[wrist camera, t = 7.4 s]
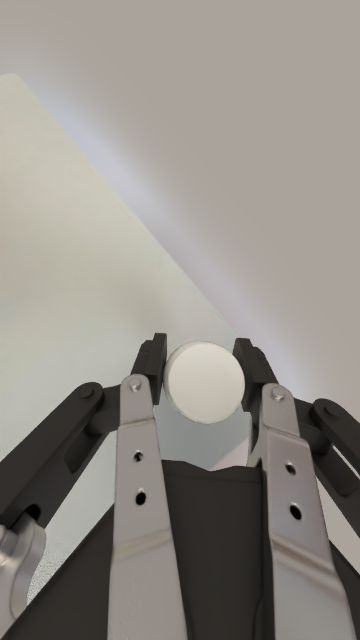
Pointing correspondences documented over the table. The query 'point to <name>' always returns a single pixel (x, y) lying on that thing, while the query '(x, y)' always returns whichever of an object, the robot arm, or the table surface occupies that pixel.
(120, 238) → the table surface
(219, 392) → the pill bottle
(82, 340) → the table surface
